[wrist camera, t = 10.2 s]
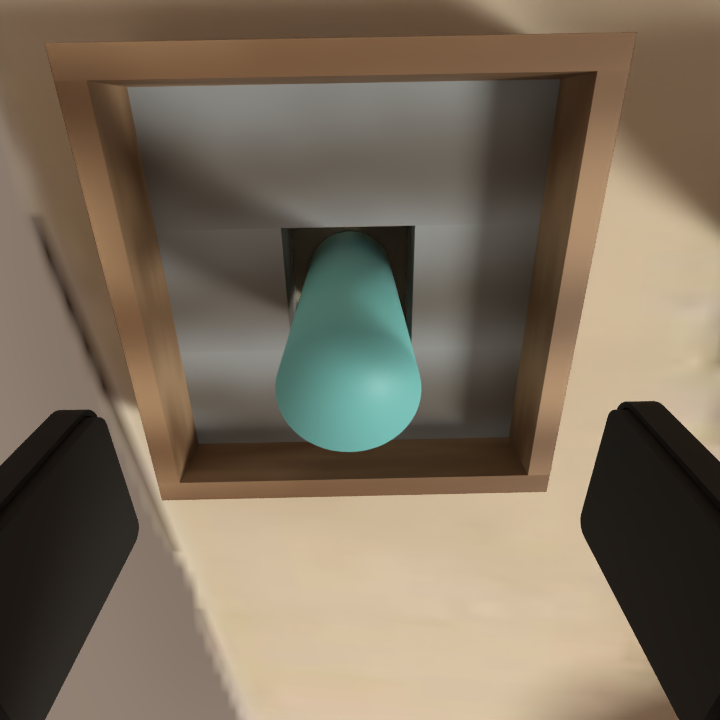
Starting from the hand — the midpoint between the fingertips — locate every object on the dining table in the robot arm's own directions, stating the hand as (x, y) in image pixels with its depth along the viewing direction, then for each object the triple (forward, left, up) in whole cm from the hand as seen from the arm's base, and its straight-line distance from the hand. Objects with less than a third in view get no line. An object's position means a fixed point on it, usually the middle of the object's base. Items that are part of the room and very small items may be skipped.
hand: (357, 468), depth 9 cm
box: (+1, 0, -16) cm, 16 cm away
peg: (+1, 0, -16) cm, 16 cm away
